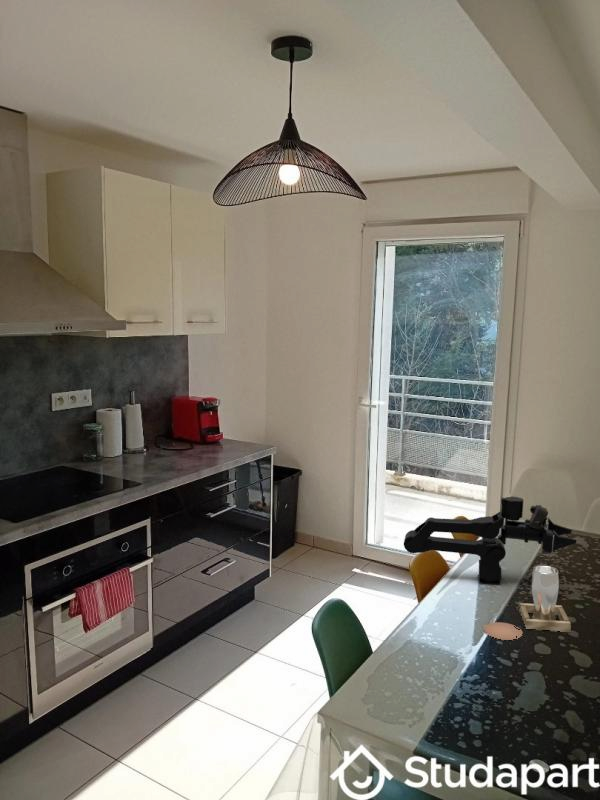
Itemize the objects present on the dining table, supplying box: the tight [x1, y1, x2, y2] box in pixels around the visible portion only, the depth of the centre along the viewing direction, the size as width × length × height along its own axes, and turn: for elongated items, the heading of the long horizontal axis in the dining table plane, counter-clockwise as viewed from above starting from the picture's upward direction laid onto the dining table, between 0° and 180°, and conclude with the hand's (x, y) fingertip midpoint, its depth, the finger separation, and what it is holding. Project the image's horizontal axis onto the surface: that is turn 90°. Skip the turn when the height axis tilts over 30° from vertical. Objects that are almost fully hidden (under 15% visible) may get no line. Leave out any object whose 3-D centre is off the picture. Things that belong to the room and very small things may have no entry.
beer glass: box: [531, 565, 560, 621], centre depth 176 cm, size 7×7×15 cm
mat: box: [483, 621, 523, 641], centre depth 171 cm, size 10×10×1 cm
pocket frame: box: [519, 602, 572, 633], centre depth 177 cm, size 11×11×2 cm
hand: (573, 536), depth 198 cm, fingers open, 9 cm apart
